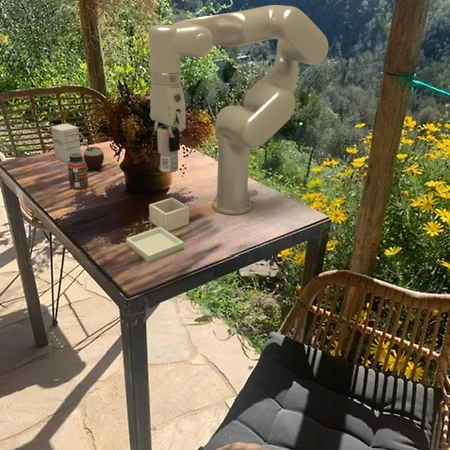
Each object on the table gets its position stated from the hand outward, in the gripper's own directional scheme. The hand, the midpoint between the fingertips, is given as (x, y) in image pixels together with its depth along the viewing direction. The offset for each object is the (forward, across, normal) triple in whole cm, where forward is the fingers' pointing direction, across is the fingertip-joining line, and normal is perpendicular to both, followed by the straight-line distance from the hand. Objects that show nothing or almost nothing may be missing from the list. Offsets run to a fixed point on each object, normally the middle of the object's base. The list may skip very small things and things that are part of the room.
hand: (167, 147), depth 122 cm
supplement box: (+23, +68, 0) cm, 72 cm away
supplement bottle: (+23, +40, +9) cm, 47 cm away
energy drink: (+7, 0, 0) cm, 7 cm away
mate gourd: (+23, +51, -2) cm, 56 cm away
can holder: (+23, 0, 0) cm, 23 cm away
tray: (+23, -9, +11) cm, 27 cm away
